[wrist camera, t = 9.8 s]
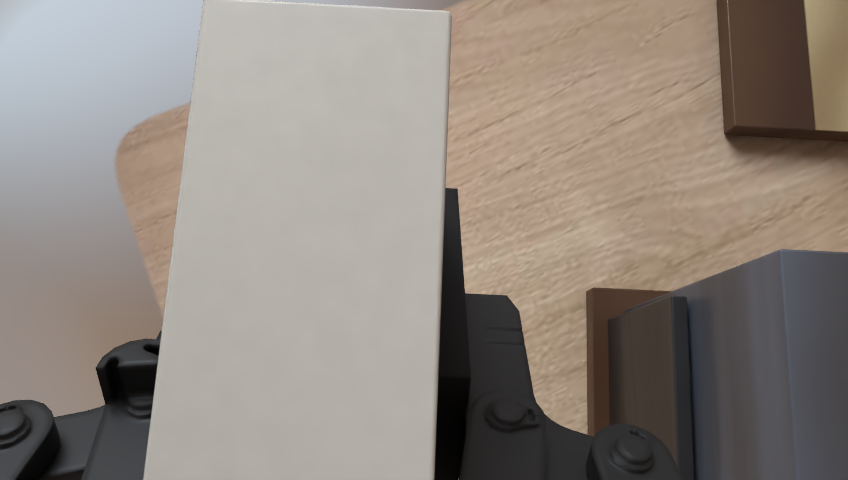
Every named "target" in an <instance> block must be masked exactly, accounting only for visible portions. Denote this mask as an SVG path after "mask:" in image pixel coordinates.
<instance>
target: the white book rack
mask: <svg viewBox="0 0 848 480" xmlns="http://www.w3.org/2000/svg"><path fill="white" fill-rule="evenodd" d="M717 13H718V30H719V48H720V65H721V83H722V100H723V118H724V133H725V134H729V135H748V136H767V137H786V138H805V139H824V140H843V141H848V0H717Z"/></svg>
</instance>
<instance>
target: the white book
mask: <svg viewBox="0 0 848 480" xmlns="http://www.w3.org/2000/svg"><path fill="white" fill-rule="evenodd" d="M451 27H452V16H451V13H450V12H448V11H437V10H420V9H419V10H418V9H402V8H385V7H368V6H350V5H332V4H315V3H298V2H281V1H262V0H203V7H202V15H201V23H200V30H199V39H198V47H197V55H196V62H195V71H194V78H193V86H192V95H191V102H190V110H189V118H188V126H187V134H186V142H185V150H184V158H183V166H182V174H181V182H180V190H179V198H178V206H177V214H176V222H175V230H174V238H173V246H172V254H171V262H170V270H169V278H168V286H167V294H166V302H165V310H164V317H163V326H162V333H161V341H160V349H159V357H158V365H157V373H156V381H155V389H154V397H153V405H152V413H151V421H150V429H149V437H148V445H147V453H146V461H145V469H144V477H143V480H434V476H435V449H436V423H437V397H438V370H439V344H440V317H441V291H442V265H443V238H444V212H445V185H446V159H447V133H448V106H449V80H450V53H451Z"/></svg>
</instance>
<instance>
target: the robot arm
mask: <svg viewBox="0 0 848 480" xmlns="http://www.w3.org/2000/svg"><path fill="white" fill-rule="evenodd" d="M161 333H162V331H160V333H159V335H158V337H157V339H156V340H155V339H142V340H136V341H130V342H128V343H125V344H123V345H120V346H118V347H116V348H114V349H113V350H111V351H110V352H109V353H107V354H106V355H105V356H103V357H102V359H101V360H100V362H99V363H98V365H97V367H96V371H97V375H98V378H99V382H100V386H101V389H102V393H103V397H104V400H105V405H104V406H101V407H100V408H95V409H92V410H88V411H84V412H79V413H74V414H69V415H64V416H58V417H53V414H52V411H51V410H50V409H49V408H48V407H47V406H46V405H45V404H43V403H40V402H36V401H33V400H16V401H11V402H8V403H4V404H1V405H0V480H143V477H144V469H145V461H146V453H147V445H148V437H149V429H150V421H151V413H152V405H153V397H154V389H155V381H156V373H157V365H158V357H159V349H160V341H161ZM458 478H459V480H683V477H682V475H681V473H680V471H679V469H678V467H677V465H676V463H675V461H674V459H673V456H672V454H671V453H670V451H669V450H668V448H667V447H666V446H665V444H664V443H663V441H661V440H660V439H659V438H657V437H656V436H655V435H653V434H652V433H651V432H649V431H647V430H645V429H642V428H640V427H637V426H635V425H627V424H614V425H609V426H605V427H604V428H602V429H601V430H600V431H598V432H597V433H596V434H595V436H594V437H592V436H589V435H586V434H583V433H579V432H576V431H573V430H570V429H568V428H565V427H563V426H560V425H559V424H557V423H555V422H554V421H552V420H551V419H549V418H548V417H547V416H546V415H545V414H544V412H543V411H542V409H541V408H540V407H539V405H538V404H537V403H536V400H535V397H534V394H533V388H532V382H531V377H530V371H529V365H528V360H527V354H526V348H525V346H524V337H523V332H522V325H521V320H520V314H519V310H518V309H517V308H516V307H515V305H514V304H513V303H512V302H511V300H510V299H509V298H508V297H507V296H505V295H484V294H465V288H464V274H463V260H462V246H461V232H460V218H459V204H458V190H457V189H451V188H445V212H444V238H443V265H442V291H441V317H440V344H439V370H438V397H437V423H436V449H435V476H434V480H458Z"/></svg>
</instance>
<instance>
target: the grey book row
mask: <svg viewBox="0 0 848 480" xmlns="http://www.w3.org/2000/svg"><path fill="white" fill-rule="evenodd" d="M586 301H587V408H588V435H589V436H592V437H594V436H595V434H596V433H597V432H598V431H600V430H601V429H602V428H604V427H605V426H609V425H614V424H627V425H635V426H637V427H640V428H642V429H645V430H647V431H649V432H651V433H652V434H653V435H655V436H656V437H657V438H659V439H660V440H661V441H663V443H664V444H665V446H666V447H667V448H668V450H669V451H670V453H671V454H672V456H673V459H674V461H675V463H676V465H677V467H678V469H679V471H680V473H681V475H682V477H683V480H848V252H827V251H807V250H787V249H780V250H778V251H775V252H773V253H770V254H767V255H765V256H762V257H760V258H757V259H754V260H752V261H749V262H747V263H744V264H742V265H739V266H736V267H734V268H731V269H729V270H726V271H724V272H721V273H718V274H716V275H713V276H711V277H708V278H705V279H703V280H700V281H698V282H695V283H693V284H690V285H687V286H685V287H682V288H680V289H677V290H675V291H654V290H633V289H612V288H592V289H590V290H588V291H587V292H586Z"/></svg>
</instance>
